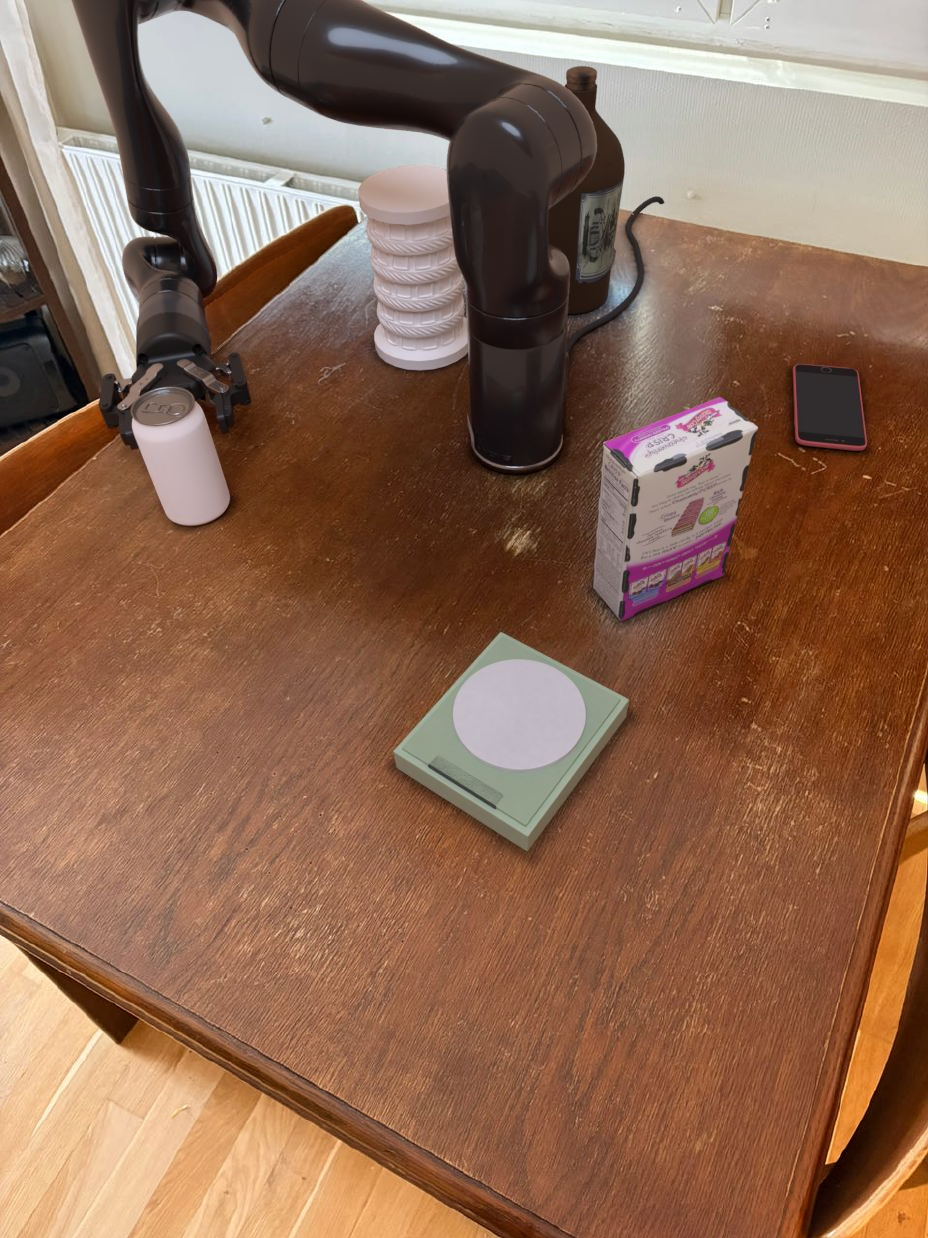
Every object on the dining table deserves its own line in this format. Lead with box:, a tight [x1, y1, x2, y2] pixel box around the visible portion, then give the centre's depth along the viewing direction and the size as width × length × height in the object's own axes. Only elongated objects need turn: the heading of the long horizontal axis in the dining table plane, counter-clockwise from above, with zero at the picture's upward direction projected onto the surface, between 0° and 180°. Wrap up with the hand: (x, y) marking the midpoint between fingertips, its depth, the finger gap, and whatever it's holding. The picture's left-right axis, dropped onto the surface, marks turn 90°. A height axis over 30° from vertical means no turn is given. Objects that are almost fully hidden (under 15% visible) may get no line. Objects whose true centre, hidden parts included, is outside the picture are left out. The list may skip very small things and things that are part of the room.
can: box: [131, 387, 231, 527], centre depth 84 cm, size 6×6×12 cm
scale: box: [392, 631, 630, 852], centre depth 68 cm, size 14×12×3 cm
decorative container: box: [357, 164, 468, 371], centre depth 99 cm, size 12×12×18 cm
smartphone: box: [792, 363, 868, 452], centre depth 94 cm, size 7×1×14 cm
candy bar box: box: [592, 396, 759, 622], centre depth 73 cm, size 11×5×16 cm, turn 117°
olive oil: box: [548, 65, 626, 315], centre depth 102 cm, size 11×11×25 cm
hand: (178, 434), depth 85 cm, fingers open, 8 cm apart
